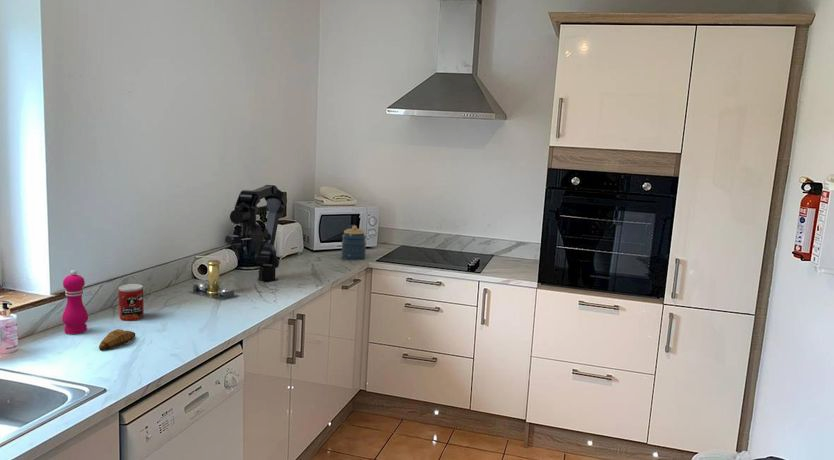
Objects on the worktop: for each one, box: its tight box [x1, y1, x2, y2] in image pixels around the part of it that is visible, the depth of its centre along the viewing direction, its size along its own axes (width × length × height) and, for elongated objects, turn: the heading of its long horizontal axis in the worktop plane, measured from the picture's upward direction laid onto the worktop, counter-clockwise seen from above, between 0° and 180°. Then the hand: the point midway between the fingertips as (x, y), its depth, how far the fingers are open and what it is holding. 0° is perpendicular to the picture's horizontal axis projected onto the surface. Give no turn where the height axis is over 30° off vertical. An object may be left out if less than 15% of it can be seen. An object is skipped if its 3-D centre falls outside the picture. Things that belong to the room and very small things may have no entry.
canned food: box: [118, 283, 145, 322], centre depth 210 cm, size 8×8×11 cm
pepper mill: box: [61, 269, 89, 335], centre depth 193 cm, size 7×7×20 cm
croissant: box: [98, 328, 136, 351], centre depth 185 cm, size 14×7×5 cm, turn 163°
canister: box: [341, 224, 367, 260], centre depth 326 cm, size 13×13×18 cm
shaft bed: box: [187, 281, 240, 301], centre depth 244 cm, size 19×9×3 cm, turn 60°
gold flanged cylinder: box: [206, 259, 221, 295], centre depth 244 cm, size 5×5×13 cm
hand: (248, 258), depth 253 cm, fingers open, 9 cm apart
